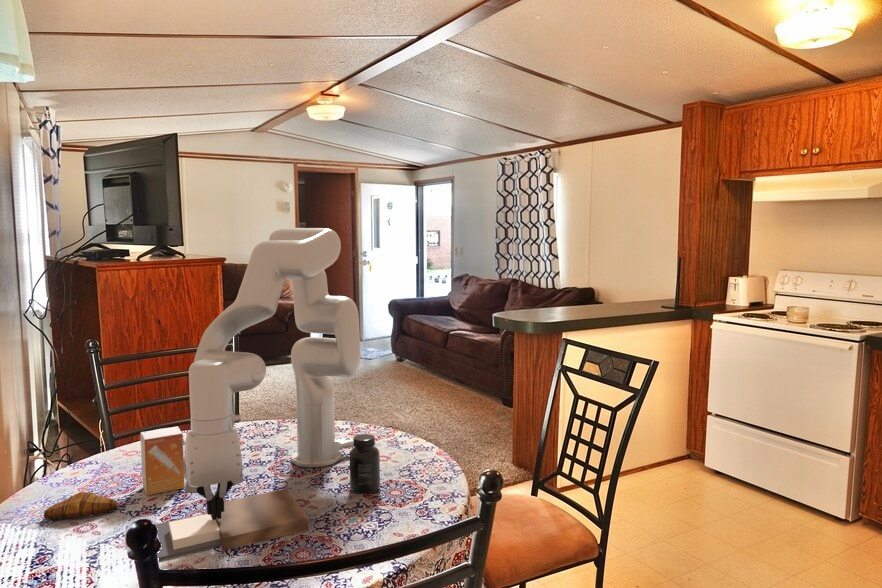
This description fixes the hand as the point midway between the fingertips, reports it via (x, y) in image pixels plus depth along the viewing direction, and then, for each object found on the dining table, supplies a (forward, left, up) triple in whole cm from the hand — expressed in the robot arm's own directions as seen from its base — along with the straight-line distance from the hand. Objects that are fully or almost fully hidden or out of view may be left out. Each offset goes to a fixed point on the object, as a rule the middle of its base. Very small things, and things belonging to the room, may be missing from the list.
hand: (215, 516), depth 118 cm
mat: (+5, -1, -3) cm, 6 cm away
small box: (+7, -28, -4) cm, 29 cm away
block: (+4, 0, -3) cm, 5 cm away
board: (-8, 0, -3) cm, 9 cm away
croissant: (+23, -22, -4) cm, 32 cm away
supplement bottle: (-33, -5, -3) cm, 34 cm away
